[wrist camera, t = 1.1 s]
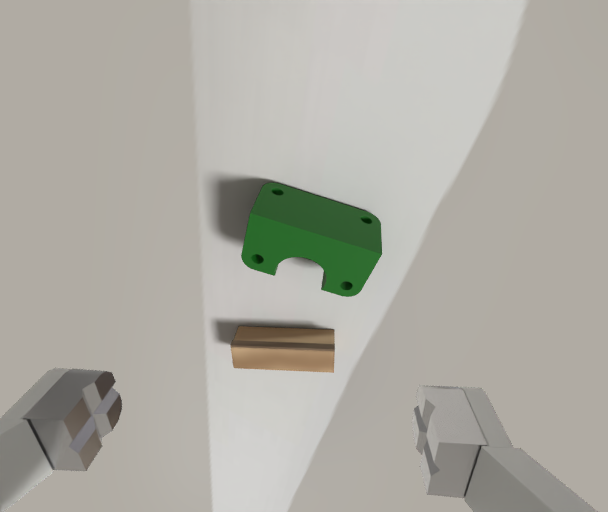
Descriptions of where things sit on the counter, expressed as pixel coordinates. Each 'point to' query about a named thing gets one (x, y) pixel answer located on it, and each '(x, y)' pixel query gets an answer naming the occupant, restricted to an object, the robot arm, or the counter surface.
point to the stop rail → (283, 349)
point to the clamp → (312, 237)
